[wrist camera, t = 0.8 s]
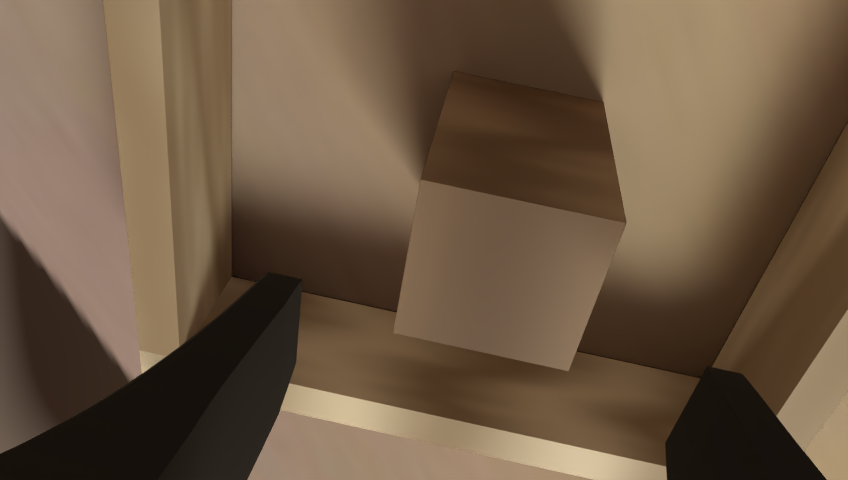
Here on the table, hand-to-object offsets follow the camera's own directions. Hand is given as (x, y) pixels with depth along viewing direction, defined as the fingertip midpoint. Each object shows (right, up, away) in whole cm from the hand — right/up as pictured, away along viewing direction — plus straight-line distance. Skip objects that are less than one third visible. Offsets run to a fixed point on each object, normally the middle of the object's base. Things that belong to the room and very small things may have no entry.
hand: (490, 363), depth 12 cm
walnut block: (+1, +5, +7) cm, 8 cm away
